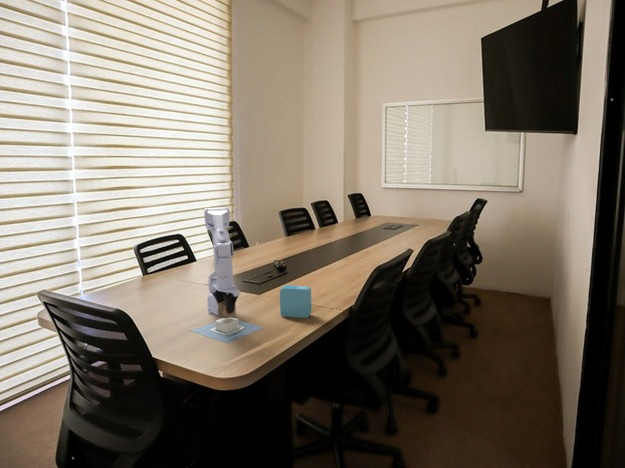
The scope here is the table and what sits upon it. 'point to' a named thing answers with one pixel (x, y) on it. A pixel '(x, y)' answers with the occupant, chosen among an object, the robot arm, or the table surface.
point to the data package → (295, 301)
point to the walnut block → (225, 310)
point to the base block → (227, 324)
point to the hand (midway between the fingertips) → (226, 311)
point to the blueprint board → (227, 337)
